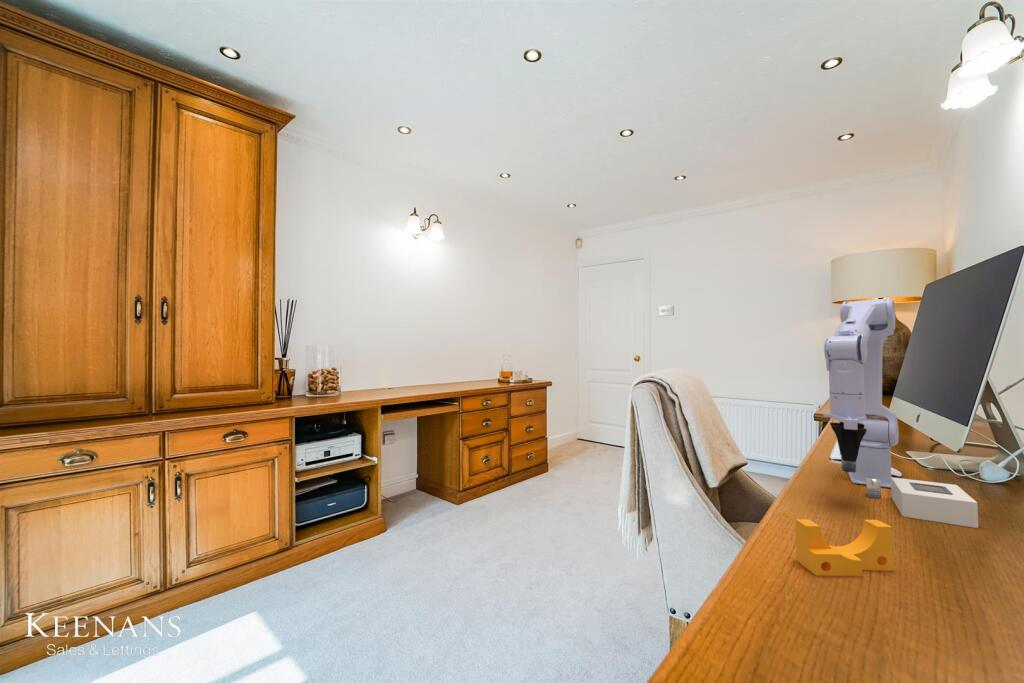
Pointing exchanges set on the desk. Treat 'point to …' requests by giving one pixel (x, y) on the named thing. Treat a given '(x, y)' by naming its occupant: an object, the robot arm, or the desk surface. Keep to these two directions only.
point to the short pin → (873, 487)
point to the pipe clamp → (844, 550)
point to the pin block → (934, 502)
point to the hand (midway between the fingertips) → (848, 459)
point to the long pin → (848, 466)
